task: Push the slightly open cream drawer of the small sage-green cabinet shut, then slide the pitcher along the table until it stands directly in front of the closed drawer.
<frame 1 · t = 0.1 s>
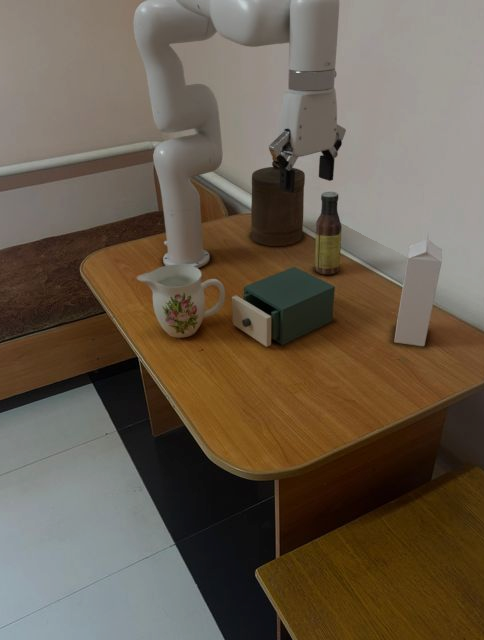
hand: (306, 184, 98), 31 cm above the table, tool pointing down, fingers open, 9 cm apart
wooden container: (276, 237, 157), on the table
cabinet: (288, 321, 118), on the table
milk: (409, 337, 112), on the table
drawer: (271, 311, 114), point 4 cm above the table, slide at 2.5 cm
pitcher: (186, 329, 117), on the table
sauce bottle: (326, 271, 138), on the table
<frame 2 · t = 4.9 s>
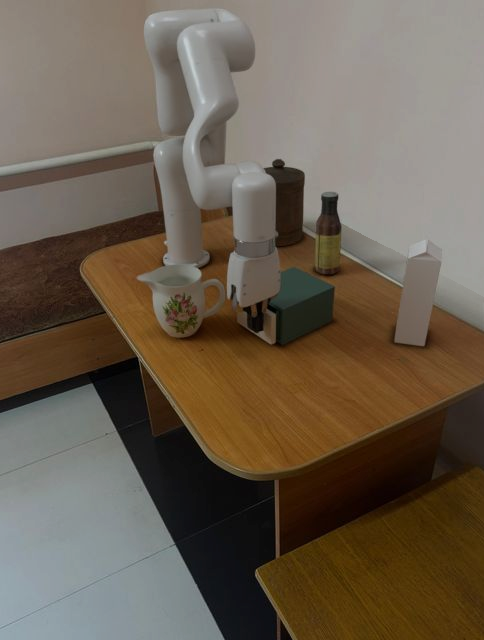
hand: (255, 329, 108), 5 cm above the table, tool pointing down, fingers closed
drawer: (275, 309, 114), point 4 cm above the table, slide at 1.3 cm, touching gripper
everything else where it was.
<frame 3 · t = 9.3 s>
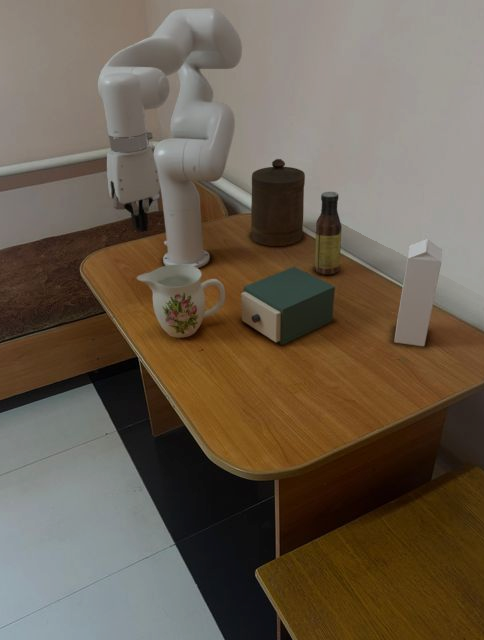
hand: (141, 229, 118), 18 cm above the table, tool pointing down, fingers closed
drawer: (280, 307, 115), point 4 cm above the table, slide at 0.0 cm, touching cabinet
everything else where it was.
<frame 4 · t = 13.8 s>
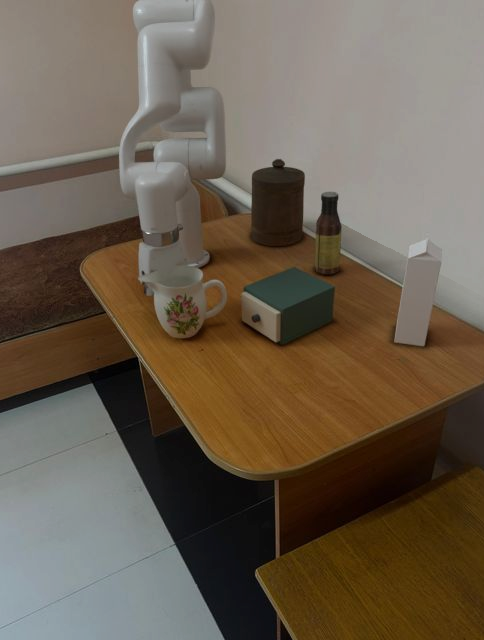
hand: (169, 311, 121), 1 cm above the table, tool pointing down, fingers closed
pitcher: (187, 330, 117), on the table, touching gripper
everything else where it was.
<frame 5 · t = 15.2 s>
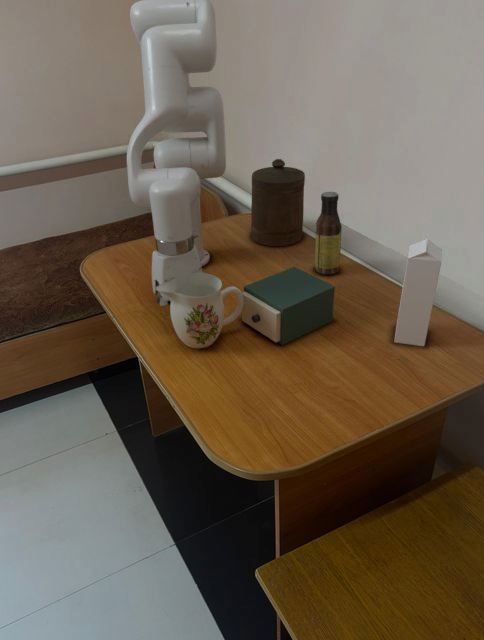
hand: (182, 321, 118), 1 cm above the table, tool pointing down, fingers closed
pitcher: (203, 339, 114), on the table, touching gripper
everything else where it was.
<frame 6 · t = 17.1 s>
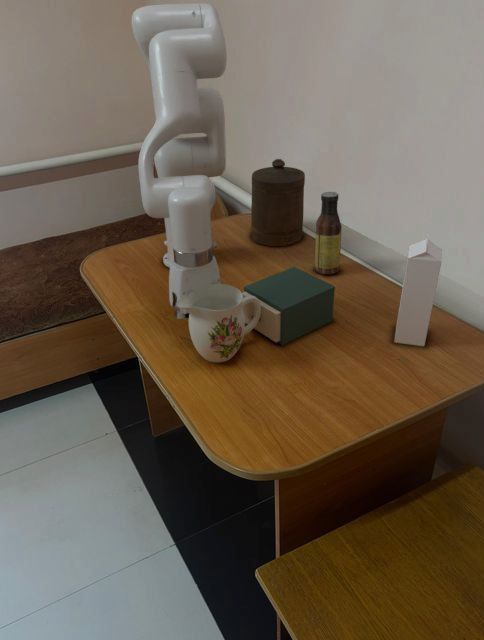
hand: (199, 334, 113), 1 cm above the table, tool pointing down, fingers closed
pitcher: (222, 352, 110), on the table, touching gripper
everything else where it was.
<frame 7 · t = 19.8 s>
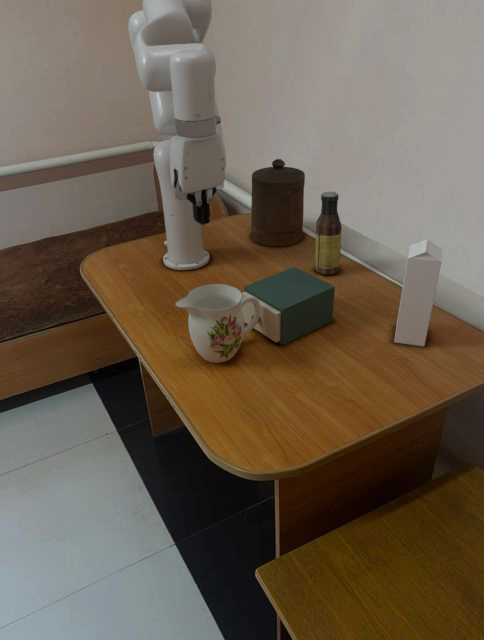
hand: (202, 221, 109), 22 cm above the table, tool pointing down, fingers closed
pitcher: (222, 352, 110), on the table
everything else where it was.
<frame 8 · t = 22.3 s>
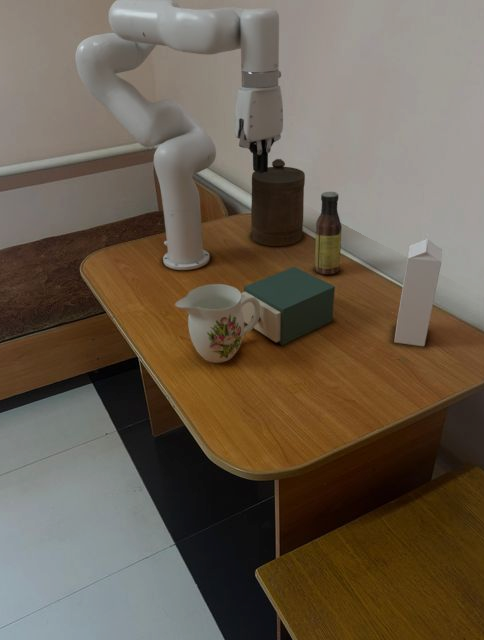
hand: (260, 171, 119), 27 cm above the table, tool pointing down, fingers closed
nothing on the table moved.
at the end: drawer slide at 0.0 cm; pitcher inside the target area in the drawer (0.9 cm from its centre), point 0.0 cm above the cabinet's base; pitcher tilted 0° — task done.
